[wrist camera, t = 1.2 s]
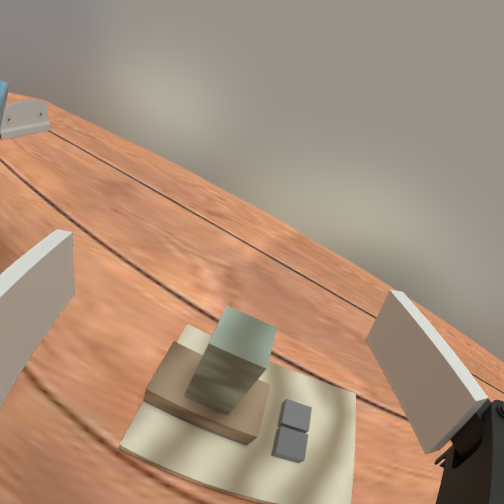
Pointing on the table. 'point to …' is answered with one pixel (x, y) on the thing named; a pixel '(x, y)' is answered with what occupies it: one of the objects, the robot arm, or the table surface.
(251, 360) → the block
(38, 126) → the hinge
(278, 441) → the mark tile
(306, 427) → the mark tile
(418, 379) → the robot arm
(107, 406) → the table surface
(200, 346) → the board
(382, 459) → the table surface
